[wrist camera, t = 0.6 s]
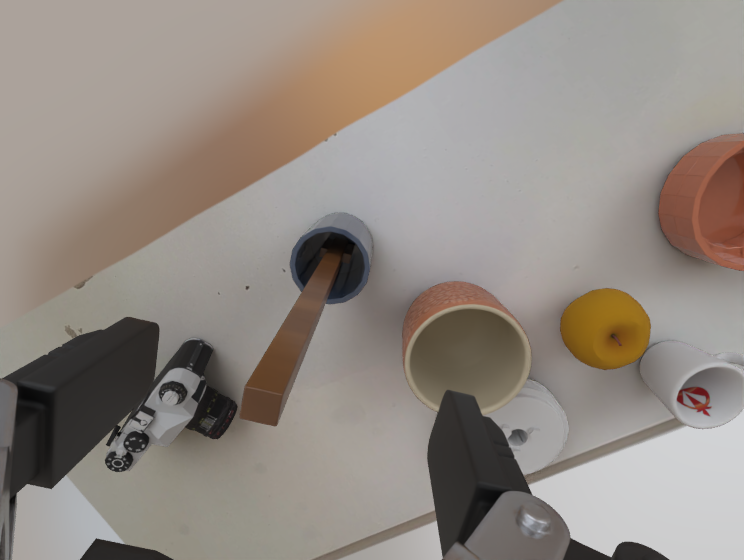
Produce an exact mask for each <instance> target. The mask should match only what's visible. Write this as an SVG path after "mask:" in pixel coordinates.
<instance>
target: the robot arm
mask: <svg viewBox="0 0 744 560" xmlns="http://www.w3.org/2000/svg"><path fill="white" fill-rule="evenodd" d="M158 341H159V326H158V324H157V323H154V322H149V321H145V320H140V319H136V318H132V317H125V318H123V319H122V320H120V321H118V322H117V323H115V324H113V325H112V326H110V327H108V328H107V329H105V330H97V331H94V332H90V333H86V334H83V335H79V336H77V337H75V338H74V339H72V340H70V341H68V342H67V343H65V344H63V345H62V347H58V348H56V349H54V350H52V351H51V352H49V354H48V355H43V356H42V357H40V358H38V359H36V360H34V361H33V362H31V363H29V364H27V365H26V366H24V367H22V368H20V369H18V370H17V371H15V372H13V373H11V374H9V375H8V376H6V377H4V378H2V379H0V560H12V554H13V542H14V531H15V519H16V507H17V492H19V491H20V490H21V489H22V488H23V487H24V486H25V485H26V484H30V485H36V486H40V487H45V488H50V489H52V488H53V487H54V486H55V485H56V484H57V483H58V482H59V481H60V480H61V479H62V478H63V477H64V476H65V475H66V474H67V473H68V472H69V471H70V470H71V469H72V468H73V467H74V466H75V465H76V464H78V463H79V462H80V461H81V460H82V459H83V458H84V457H85V456H86V455H87V454H88V453H89V452H90V451H91V450H92V449H93V448H94V447H95V446H96V445H97V444H98V443H99V442H100V441H101V440H102V439H103V438H104V437H105V436H106V435H107V434H108V433H109V432H110V431H111V430H112V429H113V428H114V427H115V426H116V425H117V424H118V423H119V422H120V421H121V420H122V419H123V418H125V417H126V416H127V415H128V414H129V413H130V412H131V411H132V410H133V409H134V408H135V407H136V406H137V405H138V404H139V403H140V402H141V401H142V400H143V399H144V398H145V397H146V395H147V394H148V392H149V390H150V388H151V386H152V384H153V381H154V377H155V369H156V359H157V350H158ZM514 457H515V456H514V454H513V452H512V450H511V447H509V443H508V441H507V439H506V436H505V434H504V432H503V430H502V429H501V428H500V427H499V426H498V425H497V424H496V423H495V422H494V421H493V420H492V419H491V418H490V417H486V416H483V415H482V413H481V410H480V408H479V405H478V403H477V401H476V398H475V396H473V395H469V394H465V393H461V392H456V391H452V390H446V392H445V393H444V395H443V398H442V401H441V404H440V407H439V411H438V414H437V417H436V420H435V423H434V426H433V429H432V432H431V436H430V439H429V444H428V453H427V459H428V467H429V473H430V479H431V486H432V492H433V498H434V505H435V511H436V518H437V524H438V530H439V536H440V543H441V549H442V556H443V559H442V560H669V559H668V558H666V557H665V556H663V555H662V554H660V553H658V552H657V551H655V550H653V549H651V548H649V547H647V546H644V545H642V544H639V543H634V542H622V543H621V544H619V545H618V546H617V548H616V550H615V552H614V554H613V556H612V558H611V557H609V556H607V555H605V554H603V553H600V552H598V551H596V550H594V549H592V548H590V547H588V546H585V545H583V544H581V543H579V542H577V541H575V540H573V539H571V538H570V532H569V529H568V527H567V525H566V523H565V522H564V520H563V519H562V517H561V516H560V515H559V514H558V513H557V512H556V511H555V510H554V509H553V508H552V507H551V506H550V505H548V504H547V503H545V502H544V501H542V500H541V499H539V498H537V497H535V496H533V495H532V493H531V491H530V489H529V487H528V484H527V482H526V480H525V478H524V476H523V473H522V471H521V469H520V467H519V465H518V463H517V460H516V459H514ZM80 560H173V559H171V558H169V557H167V556H166V555H164V554H162V553H160V552H158V551H155V550H150V549H145V548H140V547H135V546H130V545H125V544H120V543H115V542H110V541H106V540H100V539H95V541H94V542H93V543H92V545H91V546H90V547H89V549H88V550H87V551H86V552H85V554H84V555H83V556H82V558H81V559H80Z"/></svg>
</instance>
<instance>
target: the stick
mask: <svg viewBox="0 0 744 560" xmlns="http://www.w3.org/2000/svg"><path fill="white" fill-rule="evenodd" d="M354 246H355V245H353V244H349V243H348V241H347V240H343V239H339V238H334V240H332V239H328V238H327V240H326V241H325V243H324V244H323V246H322V247H321V250H320V255H319V257H323V258H322V260H321V261H320V263H319V265H318V266H317V268H316V270H315V271H314V273H313V275H312V276H311V278H310V280H309V281H308V283H307V285H306V286H305V288H304V290H303V291H302V293H301V294H300V296H299V298H298V299H297V301H296V303H295V304H294V306H293V308H292V309H291V311H290V313H289V314H288V316H287V318H286V319H285V321H284V323H283V324H282V326H281V328H280V329H279V331H278V332H277V334H276V336H275V337H274V339H273V341H272V342H271V344H270V346H269V347H268V349H267V351H266V352H265V354H264V356H263V357H262V359H261V361H260V362H259V364H258V366H257V367H256V369H255V370H254V372H253V374H252V375H251V377H250V379H249V380H248V382H247V384H246V385H245V387H244V393H243V399H242V405H241V411H240V419H244V420H248V421H253V422H257V423H262V424H266V425H271V426H277V424H278V422H279V419H280V417H281V414H282V412H283V409H284V407H285V404H286V402H287V399H288V397H289V394H290V392H291V389H292V387H293V384H294V382H295V379H296V377H297V374H298V372H299V369H300V367H301V364H302V362H303V359H304V357H305V354H306V352H307V349H308V346H309V344H310V341H311V339H312V336H313V334H314V331H315V329H316V326H317V324H318V321H319V319H320V316H321V314H322V311H323V309H324V306H325V304H326V301H327V299H328V296H329V294H330V291H331V289H332V286H333V284H334V281H335V279H336V276H337V274H338V271H339V268H340V266H341V263H342V262H344V263H348V264H349V263H350V260H351V257H352V254H353V250H354Z"/></svg>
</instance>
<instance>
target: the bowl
mask: <svg viewBox="0 0 744 560" xmlns="http://www.w3.org/2000/svg"><path fill="white" fill-rule="evenodd" d="M658 212H659V213H658V214H659V219H660V223H661V228H662V231H663V233H664V234H665V236H666V237H667V239H668V240H669V242H670V243H671V244H672V245H673V246H674V247H676V248H677V249H679V250H680V251H682V252H683V253H684V254H686V255H689V256H692V257H695V258H698V259H701V260H704V261H708V262H711V263H714V264H717V265H720V266H723V267H727V268H731V269H735V270H739V271H744V133H740V134H727V135H721V136H718V137H716V138H713V139H711V140H708V141H706V142H703V143H701V144H699V145H698V146H697V147H695V148H694V149H693V150H691V151H690V152H689V153H687V154H686V155H685V156H683V157H682V159H681V160H680V161H679V162H678V164H677V165H676V166H675V167H674V169H673V170H672V171H671V172H670V173H669V175H668V177H667V180H666V182H665V184H664V187H663V189H662V191H661V194H660V203H659V211H658Z"/></svg>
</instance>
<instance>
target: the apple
mask: <svg viewBox="0 0 744 560" xmlns="http://www.w3.org/2000/svg"><path fill="white" fill-rule="evenodd" d="M650 329H651V324H650V319H649V317H648V315H647V314H646V312H645V311H644V309H643V308H642V306H641V305H640V304H639V303H638V302H637V301H636V300H635V299H634V298H632V297H631V296H630V295H629V294H627V293H625V292H623V291H620V290H616V289H609V288H605V289H598V290H592V291H590V292H588V293H586V294H585V295H583V296H581V297H579V298H577V299H576V300H575V301H573V302H572V303H571V304H570V305H569V306H568V307H567V308H566V309H565V311H564V313H563V315H562V317H561V324H560V332H561V335H562V339H563V341H564V344H565V345H566V347H567V348H568V349H569V350H570V352H571V353H572V354H573V355H574V356H575V358H577V359H578V360H580V361H581V362H583V363H585V364H587V365H589V366H591V367H595V368H599V369H603V370H608V369H616V368H620V367H622V366H625V365H627V364H630V363H633V362H635V361H636V360H637V359H638V358H640V357H641V356H642V355H643V354H644V352H645V350H646V348H647V346H648V343H649V338H650Z"/></svg>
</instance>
